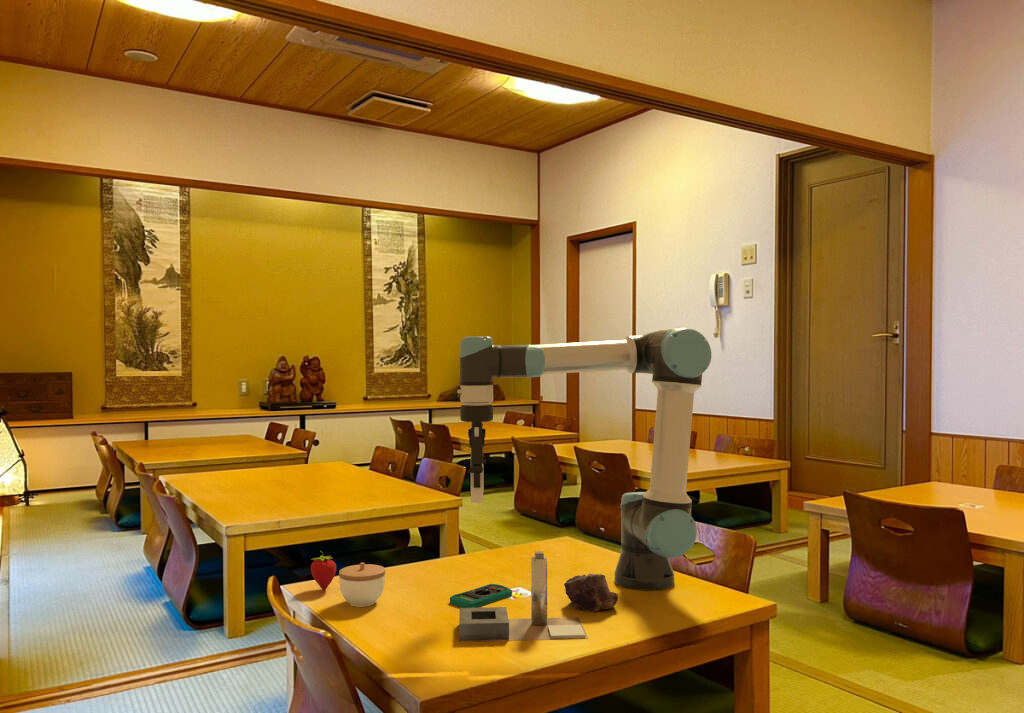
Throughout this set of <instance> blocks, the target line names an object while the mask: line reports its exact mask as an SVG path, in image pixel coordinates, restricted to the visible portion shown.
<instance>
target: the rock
mask: <svg viewBox="0 0 1024 713" xmlns="http://www.w3.org/2000/svg"><path fill="white" fill-rule="evenodd" d="M563 586H564V587H565V588H564V590H565V594H566V596H567V598H568V599H569V600H570V603H571V605H572V606H573V608H574V609H575V610H580V611H584V612H592V613H594V612H595V613H597V612H599V611H600V610H601V611H602V610H608V609H612V608H614V607H615V606H616V604H617V603H618V600H619V595H618V593H616V592H614V591H611V590H610V589H609V584H608V581H607V578H606V575H604V574H602V573H601V574H598V573H597V574H596V573H588V574H587V575H586V574H583V575H582V574H581V575H579V574H578V575H574V576H573V577H571V578H568V579H567V580H566V581H565V582H564V584H563Z"/></svg>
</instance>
